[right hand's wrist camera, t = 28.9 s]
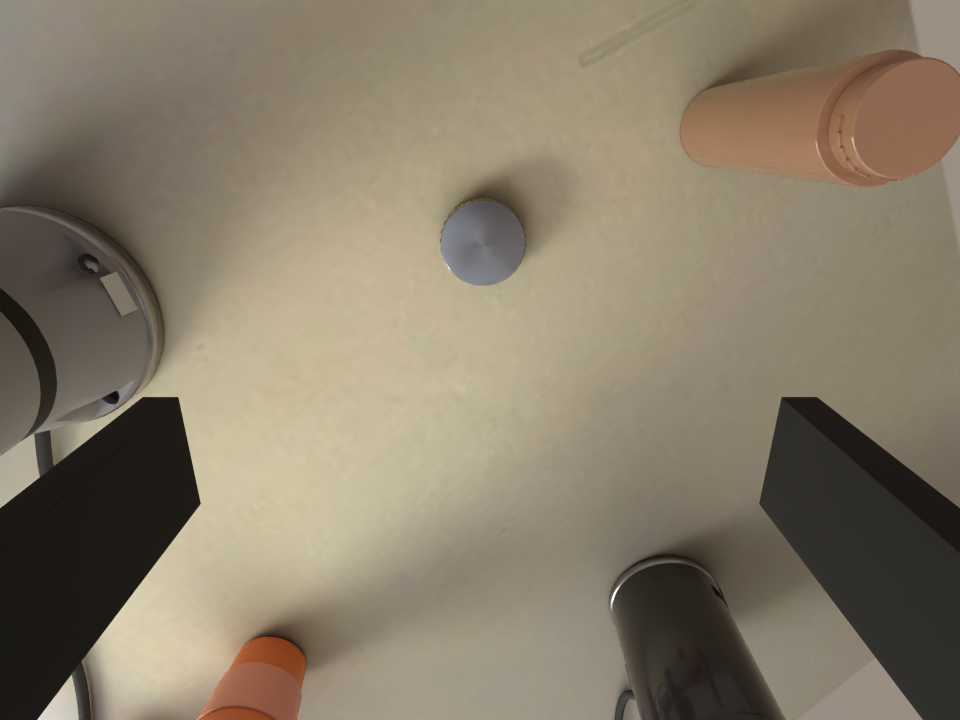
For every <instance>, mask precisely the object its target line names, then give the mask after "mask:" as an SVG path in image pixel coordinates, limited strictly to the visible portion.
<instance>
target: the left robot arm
mask: <svg viewBox="0 0 960 720" xmlns="http://www.w3.org/2000/svg"><path fill="white" fill-rule="evenodd" d="M717 585H718V584H716V582H715V580H714V578H713V577H712V575H711V574H710V573H709V571H708V570H707V569H706V568H704V567H703V566H702V565H700V564H698V563H697V562H695V561H692V560H690V559H686V558H682V557H675V556H664V557H656V558H652V559H648V560H645V561H643V562H640V563H638V564H636V565H634V566H633V567H631V568H630V569H628V570H627V571H626V572H625V573H623V574H622V575H621V576H620V577H619V579H618V580H617V581H616V583H615V584H614V586H613V588H612V590H611V593H610V597H609V609H610V613H611V616H612V620H613V622H614V624H615V626H616V630H617V634H618V637H619V641H620V645H621V649H622V652H623V656H624V660H625V666H626V670H627V673H628V677H629V681H630V684H631V688H632V690H626V691H624V692H623V693H622V695H621V696H620V698H619V700H618V703H617V707H616V713H615V720H622V719H623V712H624V708H625V705H626V703H627V701H628V699H635V700H636V703H637V707H638V711H639V714H640V718H641V720H786V719H785V717H784V715H783V713H782V711H781V710H780V708H779V706H778V704H777V702H776V700H775V698H774V696H773V694H772V692H771V690H770V689H769V687H768V685H767V683H766V681H765V679H764V677H763V675H762V673H761V671H760V669H759V667H758V666H757V664H756V662H755V660H754V658H753V656H752V654H751V652H750V650H749V648H748V646H747V644H746V643H745V641H744V639H743V637H742V635H741V633H740V631H739V629H738V627H737V625H736V623H735V621H734V620H733V618H732V616H731V614H730V611H729V609H728V606H727V604H726V601H725V599H724V596H723V594H722V591H721V589H720V587H719V585H718V586H717ZM718 587H719V589H718ZM719 590H720V592H721V594H720V592H719ZM721 595H722V596H721Z"/></svg>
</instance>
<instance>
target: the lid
mask: <svg viewBox="0 0 960 720" xmlns="http://www.w3.org/2000/svg"><path fill="white" fill-rule="evenodd" d="M519 220H520V219H519V217H518V216H516V215H515V213H514V211H513V209H512V210H511V209H510V208H509V207H507V204H503V203H501V202H499V200H493V199H490V197H488V198H481V197H479V198H477V199H472V198H471V200H469V201H467V202H465V203H464V202H462V204H461V205H460V206H458V207H455V210H454V211H453V212H452V213H450V214H449V216H448V219H447V221H446V220H445V222H444V225H445V226H444V228H443V229H442V231H441V233H442V235H441V239H440V242H441V251H442V255H443V260H444V261H445V263H446V265H447V267H448V268H449V269H450V270H451V272H452V273H453V274H454V275H455V276H457V277H458V278H459V279H461V280H463V281H464V282H467V283H469V284H473V285H479V286H487V285H493V284H496V283H499V282H501V281H503V280H505V279H506V278H508V277H509V276H510V275H511V274H513V273H514V271H515V270H516V269H517V268H518V266H519V264H520V263H521V260H522V258H523V255H524V251H525V246H526V244H525V237H526V236H525V233H524V231H523V225H522V224H520V221H519Z"/></svg>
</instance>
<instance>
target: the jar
mask: <svg viewBox="0 0 960 720" xmlns="http://www.w3.org/2000/svg"><path fill="white" fill-rule="evenodd" d="M959 135H960V74H959V73H958V72H957V71H956V70H955V69H954V68H953V67H952V66H950V65H949V64H947V63H946V62H944V61H942V60H939V59H935V58H929V57H922V56H920V55H918V54H916V53H913V52H910V51H905V50H887V51H881V52H876V53H872V54H867V55H862V56H857V57H852V58H848V59H843V60H838V61H833V62H828V63H824V64H819V65H814V66H809V67H804V68H800V69H795V70H790V71H785V72H781V73H776V74H771V75H766V76H761V77H757V78H752V79H747V80H742V81H737V82H733V83H728V84H723V85H718V86H714V87H711V88H708V89H706V90H704V91H703V92H701V93H700V94H699V95H697V96H696V97H695V98H694V99H693V100H692V101H691V103H690V104H689V105H688V107H687V108H686V110H685V112H684V115H683V117H682V121H681V126H680V138H681V143H682V146H683V148H684V150H685V152H686V153H687V155H688V156H689V157H690V158H691V159H692V160H693V161H695V162H697V163H699V164H701V165H704V166H709V167H717V168H724V169H731V170H739V171H746V172H753V173H761V174H768V175H775V176H783V177H790V178H797V179H805V180H812V181H819V182H826V183H834V184H841V185H848V186H856V187H873V186H879V185H882V184H886V183H888V182H891V181H896V180H902V179H905V178H908V177H911V176H913V175H917V174H919V173H920V172H922V171H924V170H926V169H928V168H930V167H932V166H933V165H934V164H935V163H937V162H938V161H939V160H940V159H941V158H942V157H943V156H944V155H945V154H946V153H947V152H948V151H949V150H950V148H951V147H952V146H953V145H954V143H955V141H956V140H957V139H958V137H959Z"/></svg>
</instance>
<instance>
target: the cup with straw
mask: <svg viewBox="0 0 960 720" xmlns="http://www.w3.org/2000/svg"><path fill="white" fill-rule="evenodd" d="M305 669H306V661H305V657H304V655H303V654H302V652H301V651H300V650H299V649H298V648H297V647H296V646H295V645H294V644H292V643H291V642H289V641H287V640H284V639H281V638H277V637H260V638H256V639H254V640H251V641H250V642H248V643H247V644H246V645H244V646H243V648H242V649H241V651H240V652H239V654H238V655H237V657H236V659H235V660H234V662H233V664H232V665H231V667H230V669H229V670H228V671H227V672H226V673H225V674H224V675H223V677H222V678H221V680H220V682H219V683H218V685H217V687H216V688H215V690H214V692H213V693H212V695H211V697H210V698H209V700H208V702H207V703H206V705H205V707H204V708H203V710H202V712H201V713H200V715H199V717H198V718H197V720H297V717H298V713H299V708H300V703H301V697H302V695H301V688H302V684H303V679H304V674H305Z"/></svg>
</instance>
